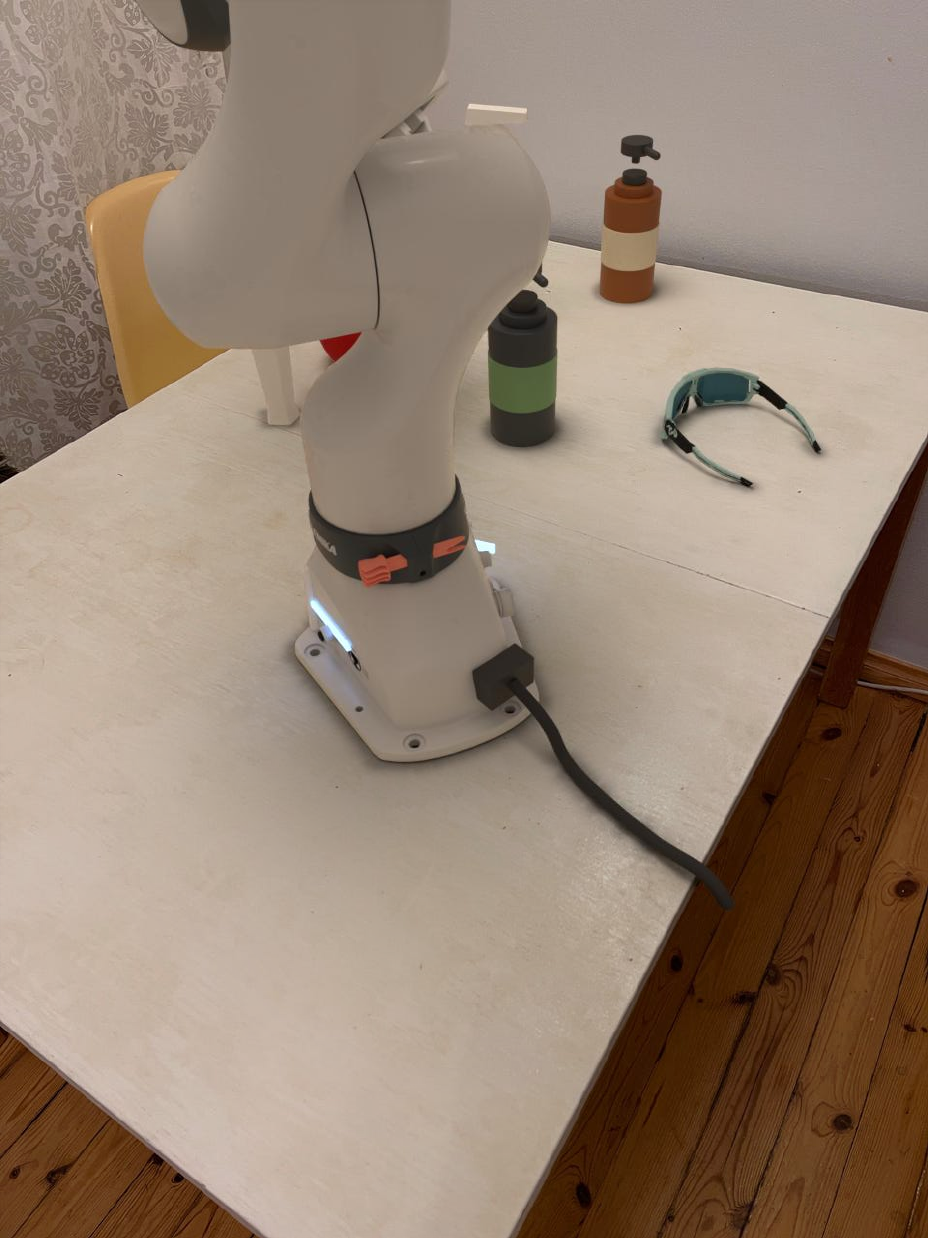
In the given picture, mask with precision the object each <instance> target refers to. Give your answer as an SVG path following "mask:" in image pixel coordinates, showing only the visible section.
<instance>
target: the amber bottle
mask: <svg viewBox="0 0 928 1238" xmlns="http://www.w3.org/2000/svg"><path fill="white" fill-rule="evenodd" d="M613 183H614V184H612V185H610V186H608V187H607V188H606V189H605V191H604V204H603V221H602V227H601V229H602V230H601V248H600V272H599V273H600V274H599V275H600V276H599V295H600V296H601V297H602V298H603V299H604V300H606V301H609V302H613V303H618V304H637V303H641V302H644V301H646V300H648V299H650V298H651V296H652V295H653V292H654V291H653V290H654V280H655V279H654V278H655V270H656V269H655V268H656V262H657V254H658V246H659V245H658V244H659V233H660V224H661V223H660V217H661V206H662V196H663V191H662V189H661V188H660V187H659V186H658V185H655V182H654V180H653V179H652V178H651V177H649V176H648V171H646V170H645V169H642V168H627V169H625V170H623V171H622V174H621V176H620V177H618V178H616V179H615V180H614V182H613Z"/></svg>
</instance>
